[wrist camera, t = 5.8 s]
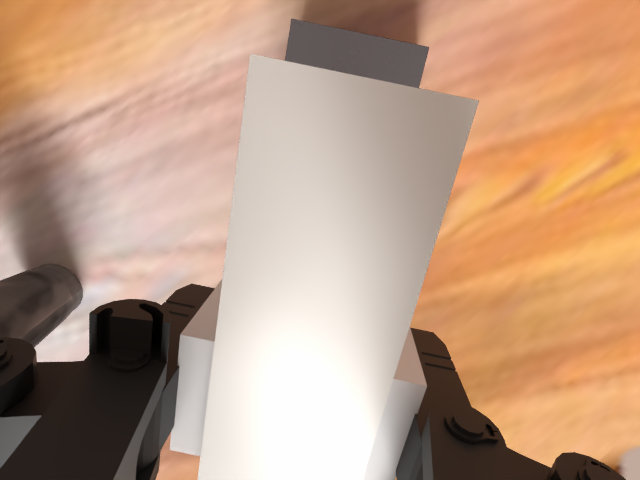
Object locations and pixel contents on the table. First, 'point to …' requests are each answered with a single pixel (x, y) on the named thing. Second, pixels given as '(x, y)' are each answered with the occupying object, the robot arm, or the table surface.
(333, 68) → the cinder block
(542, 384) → the table surface
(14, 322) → the beverage cup
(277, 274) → the white arch
